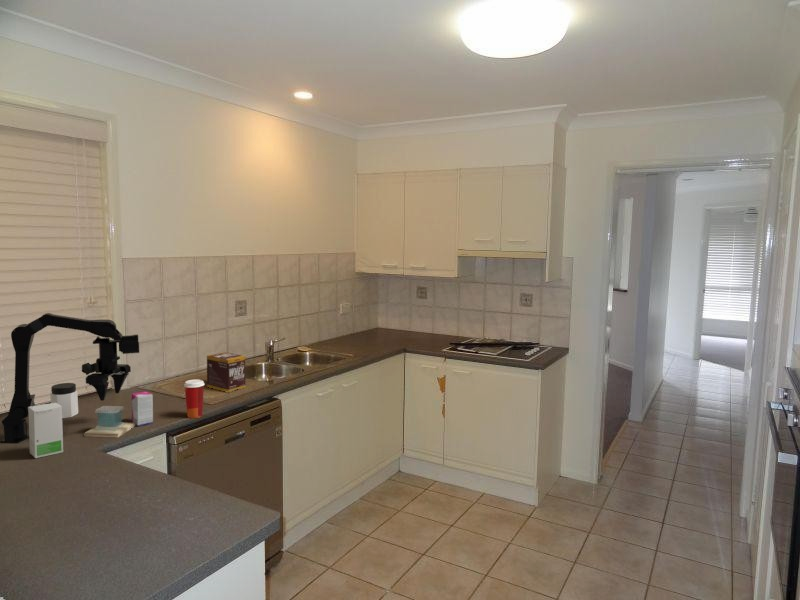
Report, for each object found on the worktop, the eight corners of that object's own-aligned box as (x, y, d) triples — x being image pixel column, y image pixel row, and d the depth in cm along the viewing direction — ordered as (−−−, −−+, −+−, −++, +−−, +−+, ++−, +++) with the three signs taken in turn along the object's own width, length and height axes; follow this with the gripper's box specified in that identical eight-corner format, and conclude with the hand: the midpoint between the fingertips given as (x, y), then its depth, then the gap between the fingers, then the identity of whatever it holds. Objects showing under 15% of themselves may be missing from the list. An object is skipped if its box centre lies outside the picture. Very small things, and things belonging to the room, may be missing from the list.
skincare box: (34, 459, 170) (32, 411, 169) (29, 453, 175) (26, 406, 173) (64, 452, 177) (62, 405, 175) (58, 446, 181) (56, 401, 179)
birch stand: (117, 437, 190) (117, 433, 190) (84, 436, 191) (84, 432, 190) (135, 425, 202) (135, 422, 202) (104, 424, 202) (104, 421, 202)
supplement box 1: (153, 423, 205) (152, 393, 204) (137, 426, 201) (136, 397, 200) (147, 419, 209) (146, 390, 208) (131, 423, 205) (130, 393, 204)
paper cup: (200, 411, 220) (199, 378, 218) (208, 416, 214) (207, 381, 213) (180, 415, 214) (180, 381, 213) (189, 420, 209) (188, 385, 207)
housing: (124, 425, 198) (123, 406, 198) (116, 430, 193) (116, 410, 193) (104, 424, 199) (103, 405, 198) (95, 429, 194) (95, 410, 193)
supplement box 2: (228, 393, 247) (228, 359, 245) (206, 387, 255) (206, 355, 253) (246, 388, 255) (245, 355, 254) (224, 383, 264) (224, 351, 262)
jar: (47, 416, 211) (46, 386, 209) (69, 410, 218) (67, 381, 216) (60, 420, 206) (59, 389, 205) (82, 414, 213) (80, 384, 212)
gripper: (102, 349, 205) (103, 389, 207) (69, 359, 187) (71, 403, 189) (130, 349, 205) (132, 390, 207) (100, 360, 186) (102, 404, 188)
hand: (109, 396), depth 197 cm, fingers open, 9 cm apart
